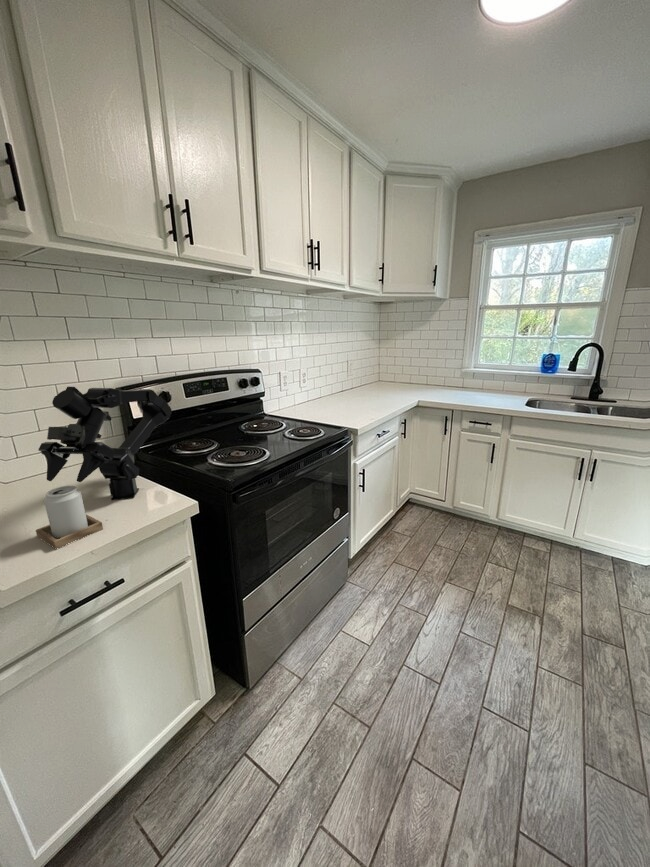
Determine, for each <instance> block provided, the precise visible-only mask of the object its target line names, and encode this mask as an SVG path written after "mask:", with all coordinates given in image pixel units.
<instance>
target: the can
mask: <svg viewBox="0 0 650 867" xmlns="http://www.w3.org/2000/svg"><path fill="white" fill-rule="evenodd" d="M77 488H78V487H77V486H75V485H63V486H57V487H55V488H52V489H50V490H48V491H47V492H46V493H45V498H44V500H43V503H44V507H45V511H46V514H47V519H48V523H49V525H50V527H51V531H52V533H51V534H52V535H51V536H52V537H54V538H56V539H59V538H62V537H64V536H67V535H69V534H72V533H74V532H76V531H79V530H81V529H83V528H86V527H88V526H89V524H88V523H87V518H86V515H87V514H86V511H85V505H84V501H83V496H82V493H81V491H80V490H79V489H77Z"/></svg>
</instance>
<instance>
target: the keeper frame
mask: <svg viewBox="0 0 650 867" xmlns="http://www.w3.org/2000/svg"><path fill="white" fill-rule="evenodd" d="M86 518H87V523H88V527H86V528H83V529H81V530H79V531H76V532H74V533H72V534H69V535H67V536H64V537H62V538H60V539H59V538H56V537H54V536H53V535H51V534H52V531H51V527H50V524H48V525H44V526H42V527H40V528H37V529H35V534H36V536H37V538H38V539H40V540H41V539H42V541H43V542H44V541H45V542H44V543H45V544H47V543H48V544H47V545H49V544H50V545H51V547H52V546H53V547H54V548H53V547H52V548H53V549H55V548H56V549H57V548H59V547H61V548H63V547H62V546H64V545H66V544H68V543H70V544H72V543H71V542H73V541H75V540H77V541H79V540H81V538H82V539H84V538H86V537H88V536H87V535H89V536H90V534H91V535H93V534H95V533H98V532H99V530H100V531H102V530H104V527H103V526H104V525H103V522H102V521H100V520H99V519H96V518H94V517H92V516H90V515H88V514H86ZM97 531H98V532H97ZM85 536H86V537H85ZM83 537H84V538H83ZM78 539H79V540H78ZM75 542H76V541H75ZM73 543H74V542H73ZM50 545H49V546H50ZM68 545H69V544H68ZM66 546H67V545H66ZM64 547H65V546H64ZM56 549H55V550H56ZM59 549H60V548H59ZM57 550H58V549H57Z"/></svg>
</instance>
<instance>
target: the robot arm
mask: <svg viewBox="0 0 650 867" xmlns="http://www.w3.org/2000/svg"><path fill="white" fill-rule="evenodd" d="M136 402H137V403H138V402H139V408H140V410H141V411H142V412H141V414H142V419H141V420H140V421H139V422H138V424H137V425H136V426H135V427H134V429H133V430H132V431H131V432H130V434H129V435H127V437H126V439H125V440H124V441H122V443H121V444H120V446H118V447H117V448H116V447H111V446H109V445H107V444H105V443H104V442H102V441H97V440H98V439H101V438H102V434H100V431H101V429H102V427H103V424H104V422H111V421H112V416H111V415H110V412H109V411H104V410H102V409H113V408H117V407H120V406H121V405H122V404H125V403H136ZM52 406H53V407H54V408H56V410H59V412H61V413H63V414H64V415H66V416H67V417H70V419H74V420H77V421H76V423H69V424H68V426H48V429H47V435H46V436H47V437H46V439H47V440H50V441H45V442H42V443H41V444H40V446H39V447H38V449H37V450H38V452H41V455H42V456H44V457H45V459H46V467H47V468H46V480H47V481H48V482H52V481H53V480H54V479H55V478H56V477H57V476H58V474H59V473H60V471H61V470H63V467H64V466H65V465H66V464H67V463H68V461H69V460H68V459H69V457H70V456H71V455H82V458H83V461H82V463H81V465H80V469H79V471H78V474H77V477H76V482H77V483H81V482H83V481H84V480H85V479H86V478H88V477H89V476H90V475H91V474H92V473H94V472H95V471H96V470H97V469H99V472H100V474H102V476H103V477H104V479H105V480H108V479H109V484H108V487H109V492H110V496H111V498H110V500H111V501H114V500H115V501H116V500H124V499H133V498H135V496H137V494H138V492H139V491H140V488H139V487H138V486H137V481H136V478H137V477H138V476H139V475H140V469H141V468H139V467H138V466H136V465H135V455H136V454H137V452H138V451H139V450H140V448H141V447H142V446H143V444H144V443H145V442H146V440H148V438H149V437H150V435H151V434H152V433H153V431H154V430H155V428H156V427H158V426H159V425H161V424H164V423H165V422H166V421H167V420H169V419H170V417H171V415H172V414H173V413H172V408H171V406H170V405H169V403H168V401H166V400H165V399H163V397H161V396H160V395H158V394H157V393H156V392H155V390H154V389H150V388H139V389H129V390H126V389H125V390H121V389H117V388H112V387H91V388H88V390H87V391H86V392H85V393H83V392H81V391H80V390H79V389H78V388H77V387H75V386H66V388H65V390H62V391H60V392H59V393H57V395H54V396H53V399H52ZM52 440H55V441H52ZM57 441H60V443H59V442H57ZM65 445H66V446H65Z"/></svg>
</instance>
